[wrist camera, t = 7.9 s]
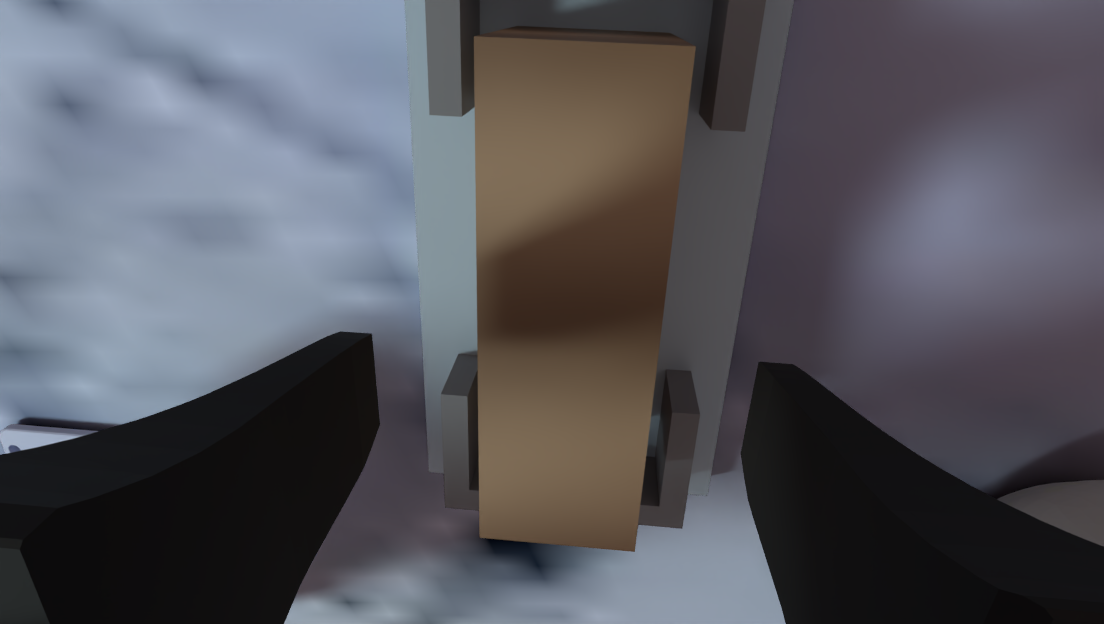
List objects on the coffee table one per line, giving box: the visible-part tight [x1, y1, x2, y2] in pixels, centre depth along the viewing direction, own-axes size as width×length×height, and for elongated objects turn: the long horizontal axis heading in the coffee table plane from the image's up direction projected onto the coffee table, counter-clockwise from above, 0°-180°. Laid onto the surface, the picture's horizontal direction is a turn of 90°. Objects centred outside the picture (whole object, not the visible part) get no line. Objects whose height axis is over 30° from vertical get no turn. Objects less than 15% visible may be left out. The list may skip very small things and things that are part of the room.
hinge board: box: [404, 0, 794, 528], centre depth 19 cm, size 18×10×4 cm, turn 178°
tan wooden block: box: [474, 26, 696, 552], centre depth 17 cm, size 12×4×6 cm, turn 178°
